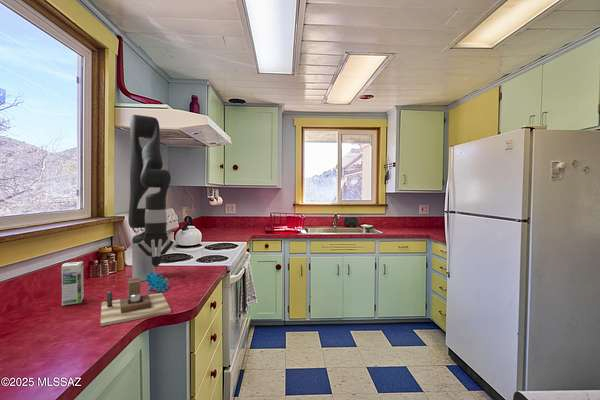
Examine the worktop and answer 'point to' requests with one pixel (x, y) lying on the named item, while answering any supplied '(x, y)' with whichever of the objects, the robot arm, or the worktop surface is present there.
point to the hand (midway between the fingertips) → (155, 266)
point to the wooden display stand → (132, 289)
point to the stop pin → (109, 299)
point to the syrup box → (72, 283)
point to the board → (115, 316)
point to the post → (134, 298)
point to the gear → (156, 282)
